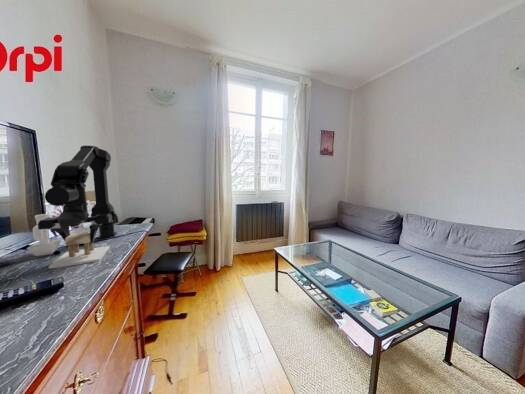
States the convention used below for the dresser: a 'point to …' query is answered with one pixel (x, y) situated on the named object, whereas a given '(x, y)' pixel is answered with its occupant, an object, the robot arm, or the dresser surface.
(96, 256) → the mat
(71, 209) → the robot arm
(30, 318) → the dresser surface
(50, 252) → the figurine
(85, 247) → the tan pegged block
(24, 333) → the dresser surface
